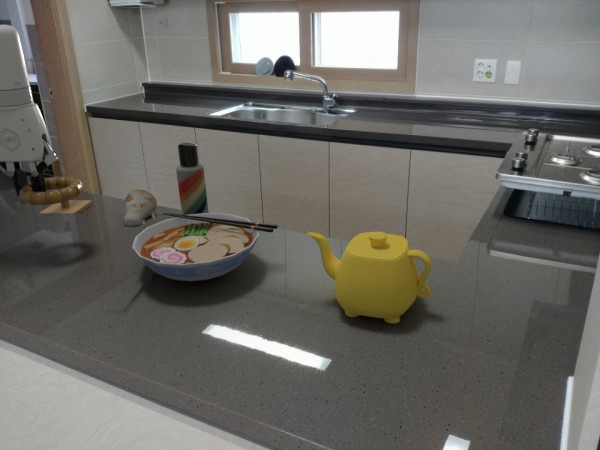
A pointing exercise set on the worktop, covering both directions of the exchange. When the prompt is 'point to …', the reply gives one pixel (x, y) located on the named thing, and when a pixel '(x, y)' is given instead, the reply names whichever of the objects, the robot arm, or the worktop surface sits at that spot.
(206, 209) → the lotion bottle
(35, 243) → the worktop surface
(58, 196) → the ring
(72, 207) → the peg stand
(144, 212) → the white round figurine
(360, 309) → the teapot
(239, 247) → the ramen bowl
